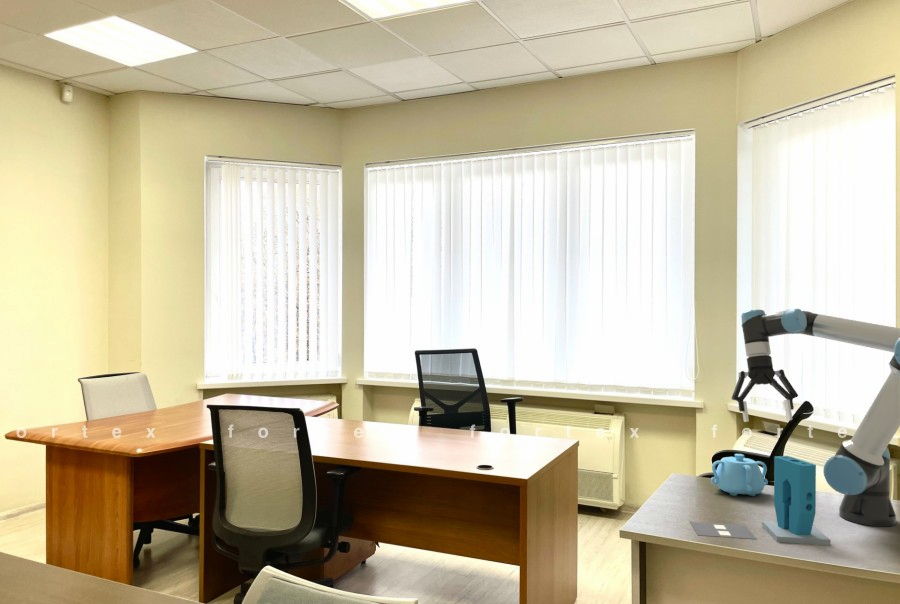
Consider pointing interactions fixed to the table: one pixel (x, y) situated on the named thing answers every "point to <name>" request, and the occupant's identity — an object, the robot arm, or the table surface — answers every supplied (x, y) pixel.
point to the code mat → (722, 530)
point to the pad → (789, 537)
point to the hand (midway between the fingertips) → (768, 421)
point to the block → (794, 494)
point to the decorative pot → (739, 475)
